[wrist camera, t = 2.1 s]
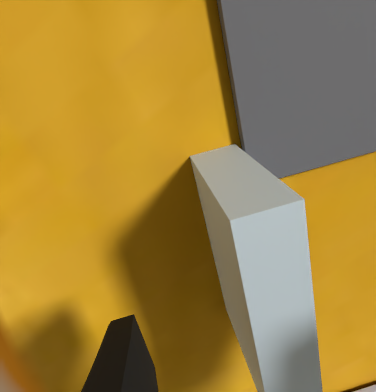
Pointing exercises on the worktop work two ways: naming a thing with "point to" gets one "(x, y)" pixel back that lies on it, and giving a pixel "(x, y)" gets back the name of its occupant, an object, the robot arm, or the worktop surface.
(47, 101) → the worktop surface
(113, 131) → the worktop surface
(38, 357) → the worktop surface
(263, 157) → the mat
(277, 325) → the block
